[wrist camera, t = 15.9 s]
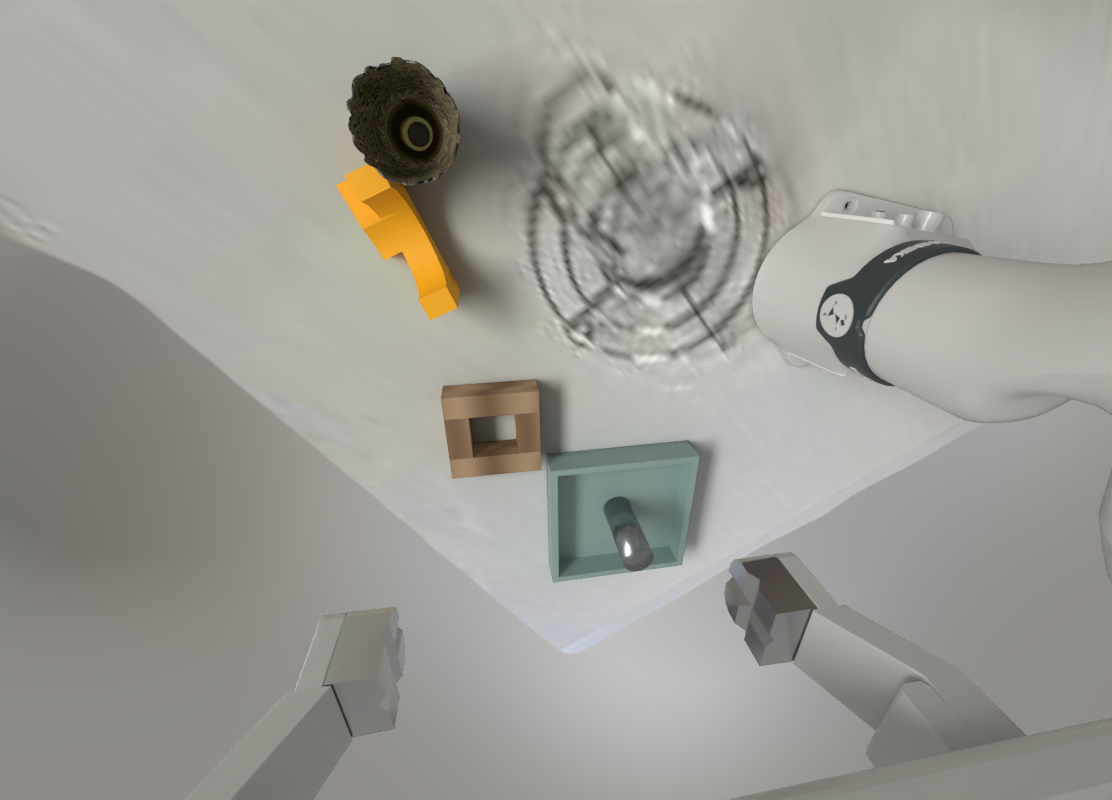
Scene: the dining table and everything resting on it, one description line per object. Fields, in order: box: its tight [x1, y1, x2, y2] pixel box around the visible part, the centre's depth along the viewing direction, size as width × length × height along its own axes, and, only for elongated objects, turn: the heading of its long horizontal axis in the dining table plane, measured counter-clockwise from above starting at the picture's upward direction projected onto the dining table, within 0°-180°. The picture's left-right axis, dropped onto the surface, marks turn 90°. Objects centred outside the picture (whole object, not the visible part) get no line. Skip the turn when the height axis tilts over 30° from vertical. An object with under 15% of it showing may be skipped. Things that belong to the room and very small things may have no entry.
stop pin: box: [603, 497, 654, 571], centre depth 54 cm, size 4×4×9 cm
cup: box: [347, 57, 461, 186], centre depth 33 cm, size 8×7×8 cm
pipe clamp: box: [336, 160, 460, 320], centre depth 38 cm, size 12×4×6 cm, turn 23°
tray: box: [546, 441, 700, 582], centre depth 57 cm, size 18×18×4 cm
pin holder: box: [441, 379, 541, 479], centre depth 49 cm, size 10×10×3 cm
